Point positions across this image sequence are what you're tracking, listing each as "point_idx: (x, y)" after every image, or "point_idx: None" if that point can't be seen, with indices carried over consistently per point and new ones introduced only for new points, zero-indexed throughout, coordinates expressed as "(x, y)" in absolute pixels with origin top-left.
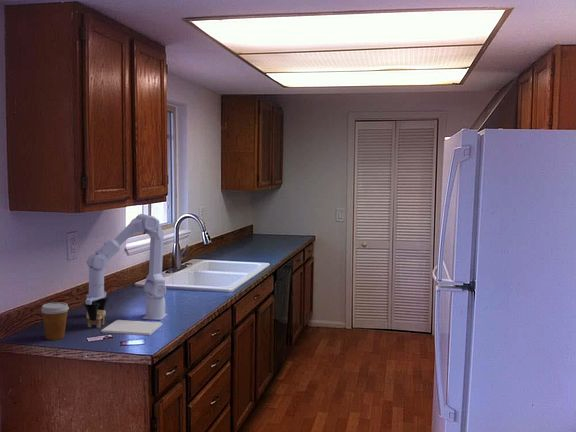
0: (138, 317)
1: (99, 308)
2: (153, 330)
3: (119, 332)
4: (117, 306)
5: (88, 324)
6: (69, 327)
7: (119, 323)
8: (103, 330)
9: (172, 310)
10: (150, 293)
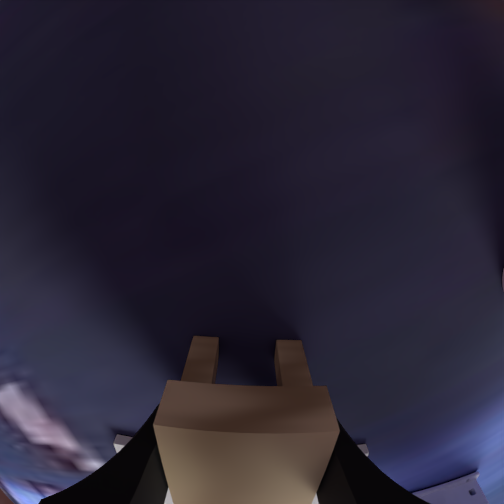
0: (436, 471)
1: (329, 489)
2: None
3: None
4: None
5: (189, 355)
6: (151, 178)
7: None
8: (116, 450)
9: (492, 488)
10: None
